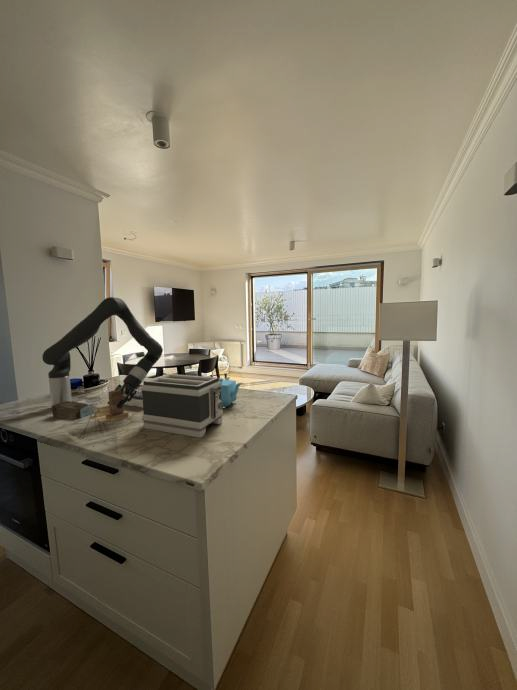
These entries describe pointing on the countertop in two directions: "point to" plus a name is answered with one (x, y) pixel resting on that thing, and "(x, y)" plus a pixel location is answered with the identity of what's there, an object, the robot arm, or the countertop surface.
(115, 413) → the brown wooden block
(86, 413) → the beverage carton
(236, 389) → the teakettle
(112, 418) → the oak rack
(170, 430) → the toaster
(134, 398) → the food packaging
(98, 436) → the countertop surface
